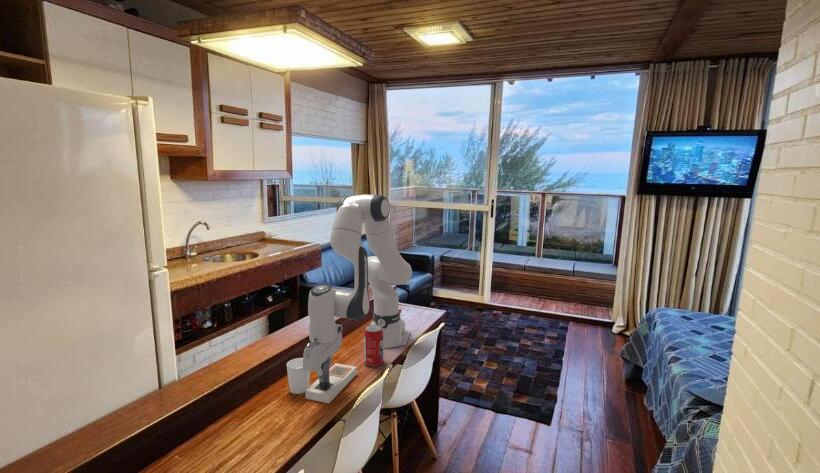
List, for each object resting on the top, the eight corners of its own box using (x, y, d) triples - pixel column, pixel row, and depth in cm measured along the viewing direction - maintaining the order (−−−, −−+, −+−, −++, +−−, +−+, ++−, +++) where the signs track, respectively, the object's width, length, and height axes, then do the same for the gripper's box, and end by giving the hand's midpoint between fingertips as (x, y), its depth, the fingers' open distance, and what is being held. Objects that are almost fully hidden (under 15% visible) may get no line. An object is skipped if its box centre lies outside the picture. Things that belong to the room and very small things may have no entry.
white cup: (315, 385, 148) (314, 359, 146) (302, 397, 140) (301, 369, 139) (296, 381, 150) (295, 356, 148) (283, 392, 143) (281, 366, 141)
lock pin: (322, 383, 145) (321, 353, 143) (333, 385, 143) (332, 355, 141) (315, 389, 140) (314, 359, 139) (326, 392, 139) (325, 361, 137)
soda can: (360, 363, 165) (359, 328, 162) (374, 356, 170) (374, 322, 168) (373, 369, 160) (372, 333, 157) (387, 363, 165) (387, 327, 163)
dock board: (335, 370, 159) (335, 362, 158) (356, 374, 156) (356, 366, 155) (305, 398, 139) (305, 389, 139) (328, 403, 136) (328, 394, 136)
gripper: (314, 347, 128) (315, 388, 130) (344, 323, 147) (345, 359, 149) (296, 344, 130) (298, 384, 132) (329, 321, 149) (330, 357, 151)
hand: (324, 371), depth 141 cm, fingers closed on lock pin, 4 cm apart
